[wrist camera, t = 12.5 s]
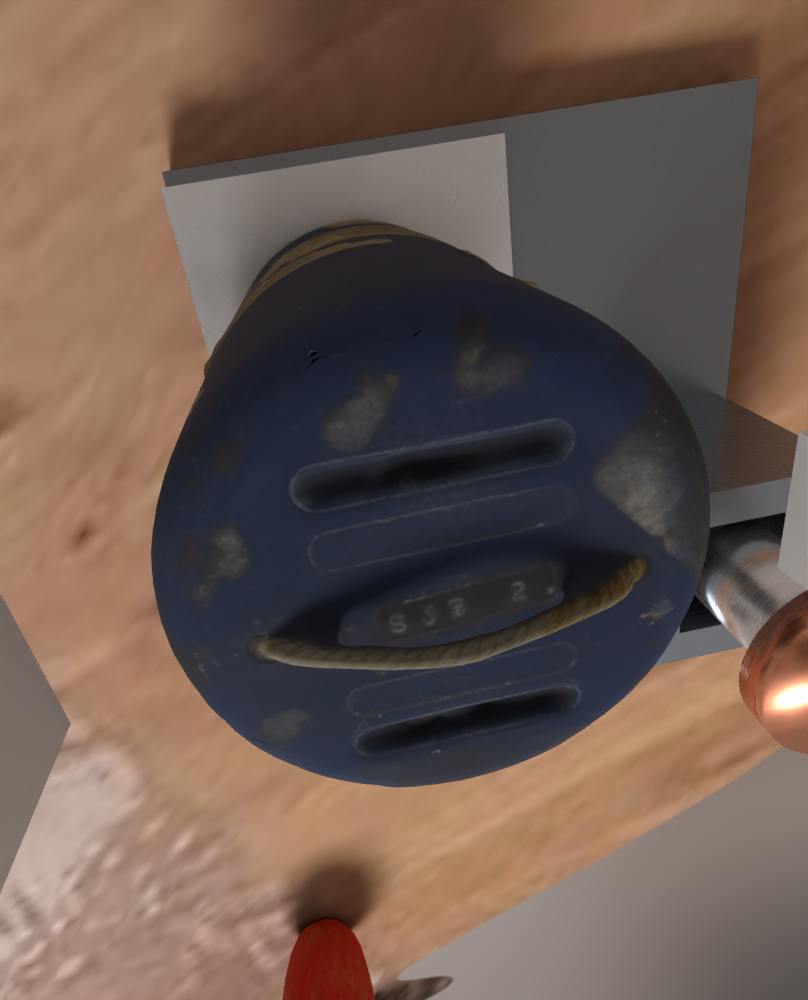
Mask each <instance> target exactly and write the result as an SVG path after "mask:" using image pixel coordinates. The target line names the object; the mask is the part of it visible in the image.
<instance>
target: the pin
mask: <svg viewBox="0 0 808 1000" xmlns="http://www.w3.org/2000/svg"><path fill="white" fill-rule="evenodd" d="M781 542H782V539H781V538H780V537H778V536H777V535H776V534H774V533H773V532H772V531H770V530H769V529H768V528H766V527H765V526H764V525H762V524H761V523H760V522H758V521H757V520H756V519H750V520H745V521H740V522H735V523H730V524H725V525H720V526H715V527H710V529H709V538H708V546H707V551H706V557H705V562H704V565H703V569H702V573H701V576H700V579H699V583H698V586H697V589H696V591H695V594H694V595H695V596H696V597H697V598H698V599H699V600H700V601H701V602H702V603H703V604H704V605H705V606H706V607H707V609H708V610H709V611H710V612H711V613H712V614H713V615H714V616H715V617H716V618H717V619H718V620H719V621H720V622H721V623H722V624H723V625H724V627H725V628H726V629H727V630H728V631H729V632H730V633H731V634H732V635H733V636H734V637H735V638H736V639H737V640H738V641H739V642H740V644H741V645H742V646H743V647H744V648H745V649H746V650H747V651H746V653H745V656H744V658H743V661H742V664H741V668H740V673H739V687H740V693H741V696H742V699H743V701H744V702H745V704H746V706H747V707H748V708H749V709H750V711H751V712H752V713H753V714H754V715H755V716H756V718H757V719H758V720H759V721H760V722H761V724H762V725H763V726H764V727H765V728H766V730H767V731H768V732H769V733H770V734H771V735H772V737H773V738H774V739H775V740H776V741H777V742H778V743H780V744H781V745H783V746H784V747H786V748H788V749H790V750H794V751H797V752H800V753H807V754H808V591H807V590H806V589H805V588H804V587H802V586H801V585H800V584H798V583H797V582H796V581H795V580H793V579H792V578H791V577H789V576H788V575H787V574H786V573H784V572H783V571H782V570H781V569H779V568H778V561H779V554H780V548H781Z"/></svg>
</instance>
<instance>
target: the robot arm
mask: <svg viewBox="0 0 808 1000" xmlns="http://www.w3.org/2000/svg"><path fill="white" fill-rule="evenodd" d="M778 568H779V569H781V570H782V571H783V572H784V573H786V574H787V575H788V576H789V577H791V578H792V579H793V580H795V581H796V582H797V583H798V584H800V585H801V586H802V587H804V588H805V589H806V590H807V591H808V430H806V431H801V432H799V434H798V440H797V447H796V453H795V459H794V466H793V472H792V478H791V485H790V491H789V497H788V504H787V510H786V516H785V523H784V529H783V535H782V542H781V548H780V554H779V561H778ZM69 726H70V722H69V720H68V718H67V716H66V714H65V712H64V710H63V709H62V707H61V705H60V703H59V701H58V699H57V697H56V696H55V694H54V692H53V690H52V688H51V686H50V685H49V683H48V681H47V679H46V677H45V675H44V673H43V672H42V670H41V668H40V666H39V664H38V662H37V660H36V659H35V657H34V655H33V653H32V651H31V649H30V647H29V646H28V644H27V642H26V640H25V638H24V636H23V635H22V633H21V631H20V629H19V627H18V625H17V623H16V622H15V620H14V618H13V616H12V614H11V612H10V610H9V609H8V607H7V605H6V603H5V601H4V599H3V598H2V596H1V595H0V893H1V890H2V888H3V886H4V883H5V881H6V878H7V876H8V873H9V871H10V869H11V866H12V864H13V861H14V859H15V856H16V854H17V852H18V849H19V847H20V844H21V842H22V840H23V837H24V835H25V832H26V830H27V827H28V825H29V823H30V820H31V818H32V815H33V813H34V810H35V808H36V806H37V803H38V801H39V798H40V796H41V794H42V791H43V789H44V786H45V784H46V781H47V779H48V777H49V774H50V772H51V769H52V767H53V764H54V762H55V760H56V757H57V755H58V752H59V750H60V748H61V745H62V743H63V740H64V738H65V735H66V733H67V731H68V728H69Z"/></svg>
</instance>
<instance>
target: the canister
mask: <svg viewBox="0 0 808 1000" xmlns="http://www.w3.org/2000/svg"><path fill="white" fill-rule="evenodd" d="M204 375H205V380H204V382H203V384H202V386H201V388H200V391H199V393H198V395H197V397H196V399H195V401H194V403H193V405H192V407H191V410H190V412H189V414H188V417H187V419H186V421H185V424H184V426H183V429H182V431H181V434H180V436H179V438H178V441H177V443H176V446H175V448H174V450H173V453H172V455H171V458H170V461H169V464H168V467H167V470H166V473H165V476H164V480H163V483H162V487H161V491H160V495H159V499H158V503H157V508H156V515H155V521H154V527H153V534H152V548H151V559H152V574H153V585H154V590H155V595H156V600H157V605H158V610H159V614H160V618H161V622H162V625H163V628H164V630H165V633H166V635H167V638H168V641H169V643H170V646H171V648H172V650H173V653H174V655H175V657H176V658H177V660H178V662H179V663H180V665H181V667H182V668H183V670H184V672H185V673H186V675H187V676H188V678H189V680H190V681H191V682H192V684H193V685H194V686H195V688H196V689H197V690H198V692H199V693H200V694H201V696H202V697H203V698H204V700H205V701H206V702H207V704H208V705H209V706H210V707H211V708H212V709H213V710H214V711H215V712H216V713H217V714H218V715H219V716H220V717H221V718H223V719H224V720H225V721H226V722H227V723H228V724H229V725H230V726H231V727H232V728H233V729H234V730H235V731H236V732H237V733H239V734H240V735H241V736H243V737H244V738H245V739H246V740H248V741H249V742H250V743H252V744H253V745H255V746H256V747H258V748H260V749H261V750H263V751H265V752H267V753H269V754H270V755H272V756H274V757H276V758H278V759H281V760H283V761H285V762H288V763H290V764H292V765H295V766H297V767H300V768H302V769H305V770H307V771H310V772H313V773H316V774H319V775H323V776H326V777H330V778H334V779H339V780H344V781H349V782H355V783H362V784H372V785H381V786H388V787H415V786H424V785H433V784H441V783H447V782H453V781H459V780H465V779H469V778H472V777H476V776H480V775H484V774H488V773H491V772H495V771H498V770H501V769H504V768H507V767H510V766H513V765H515V764H518V763H520V762H523V761H525V760H528V759H530V758H532V757H535V756H537V755H540V754H542V753H544V752H546V751H548V750H550V749H552V748H554V747H556V746H558V745H560V744H561V743H563V742H564V741H566V740H567V739H569V738H570V737H572V736H573V735H575V734H577V733H578V732H580V731H581V730H583V729H585V728H586V727H587V726H589V725H590V724H591V723H593V722H594V721H595V720H597V719H598V718H599V717H601V716H602V715H604V714H605V713H606V712H607V711H609V710H610V709H611V708H612V707H614V706H615V705H616V704H617V703H618V702H620V701H621V700H622V699H623V698H624V697H625V696H626V695H627V694H628V693H629V692H631V691H632V690H633V689H634V687H635V686H636V685H637V684H638V683H639V682H640V681H641V680H642V679H643V678H644V677H645V676H646V675H647V673H648V672H649V671H650V670H651V669H652V668H653V666H654V665H655V664H656V663H657V662H658V660H659V659H660V657H661V656H662V654H663V653H664V651H665V650H666V648H667V647H668V645H669V643H670V642H671V640H672V638H673V637H674V635H675V633H676V631H677V630H678V628H679V626H680V624H681V622H682V621H683V619H684V617H685V615H686V613H687V610H688V608H689V606H690V604H691V602H692V599H693V597H694V594H695V591H696V589H697V586H698V583H699V579H700V576H701V573H702V569H703V565H704V562H705V557H706V551H707V546H708V538H709V529H710V496H709V482H708V475H707V469H706V464H705V460H704V457H703V453H702V450H701V447H700V444H699V441H698V438H697V435H696V433H695V430H694V427H693V425H692V423H691V421H690V419H689V417H688V415H687V412H686V411H685V409H684V407H683V405H682V403H681V402H680V400H679V398H678V397H677V395H676V394H675V392H674V391H673V389H672V388H671V386H670V385H669V383H668V382H667V380H666V379H665V378H664V377H663V376H662V374H661V373H660V372H659V371H658V370H657V368H656V367H655V366H654V365H653V364H652V363H651V361H650V360H649V359H648V358H646V357H645V356H644V355H643V354H642V353H641V352H640V351H639V350H638V349H637V348H636V347H635V346H634V345H633V344H632V343H631V342H629V341H628V340H627V339H626V338H624V337H623V336H622V335H621V334H619V333H618V332H617V331H616V330H614V329H613V328H611V327H610V326H608V325H607V324H605V323H604V322H602V321H601V320H599V319H598V318H596V317H595V316H593V315H591V314H589V313H588V312H586V311H584V310H582V309H581V308H579V307H577V306H575V305H573V304H570V303H568V302H566V301H564V300H562V299H560V298H558V297H555V296H553V295H551V294H549V293H547V292H545V291H542V290H540V289H539V287H538V285H537V284H536V283H534V282H530V281H526V280H522V279H518V278H514V277H511V276H509V275H507V274H505V273H502V272H500V271H498V270H496V269H495V268H494V267H492V266H491V265H490V264H489V263H488V262H487V261H486V260H484V259H482V258H481V257H479V256H477V255H475V254H473V253H471V252H470V251H468V250H462V249H458V248H456V247H454V246H452V245H450V244H448V243H445V242H443V241H441V240H438V239H436V238H434V237H431V236H428V235H425V234H422V233H419V232H416V231H413V230H409V229H407V228H404V227H401V226H398V225H394V224H390V223H386V222H379V221H369V220H354V221H345V222H338V223H334V224H329V225H326V226H323V227H320V228H318V229H315V230H313V231H311V232H308V233H306V234H304V235H302V236H301V237H299V238H297V239H295V240H294V241H292V242H291V243H289V244H288V245H286V246H285V247H284V248H283V249H281V250H280V251H279V252H278V253H277V254H275V255H274V256H273V257H272V258H271V259H270V260H269V261H268V263H267V264H266V265H265V266H264V267H263V268H262V270H261V271H260V272H259V274H258V275H257V277H256V278H255V280H254V281H253V283H252V284H251V286H250V288H249V290H248V292H247V294H246V295H245V297H244V299H243V301H242V303H241V305H240V307H239V308H238V310H237V312H236V314H235V316H234V317H233V319H232V321H231V323H230V325H229V326H228V328H227V330H226V331H225V332H224V334H223V335H222V337H221V338H220V339H219V341H218V342H217V343H216V345H215V347H214V350H213V352H212V354H211V357H210V359H209V360H208V361H207V363H206V364H205V368H204Z"/></svg>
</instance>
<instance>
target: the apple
mask: <svg viewBox="0 0 808 1000" xmlns="http://www.w3.org/2000/svg"><path fill="white" fill-rule="evenodd" d="M283 1000H375V998H374V993H373V987H372V983H371V979H370V974H369V971H368V968H367V964H366V961H365V957H364V954H363V951H362V948H361V945H360V943H359V941H358V940H357V938H356V936H355V934H354V933H353V932H352V931H351V930H350V929H349V928H348V927H347V926H346V925H344V924H343V923H341V922H340V921H338V920H332V919H324V920H320V921H317V922H314V923H312V924H311V925H309V926H308V927H306V928H305V929H304V930H303V931H302V932H301V934H300V935H299V937H298V939H297V941H296V943H295V946H294V948H293V951H292V954H291V956H290V961H289V965H288V969H287V974H286V978H285V986H284V993H283Z"/></svg>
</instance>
